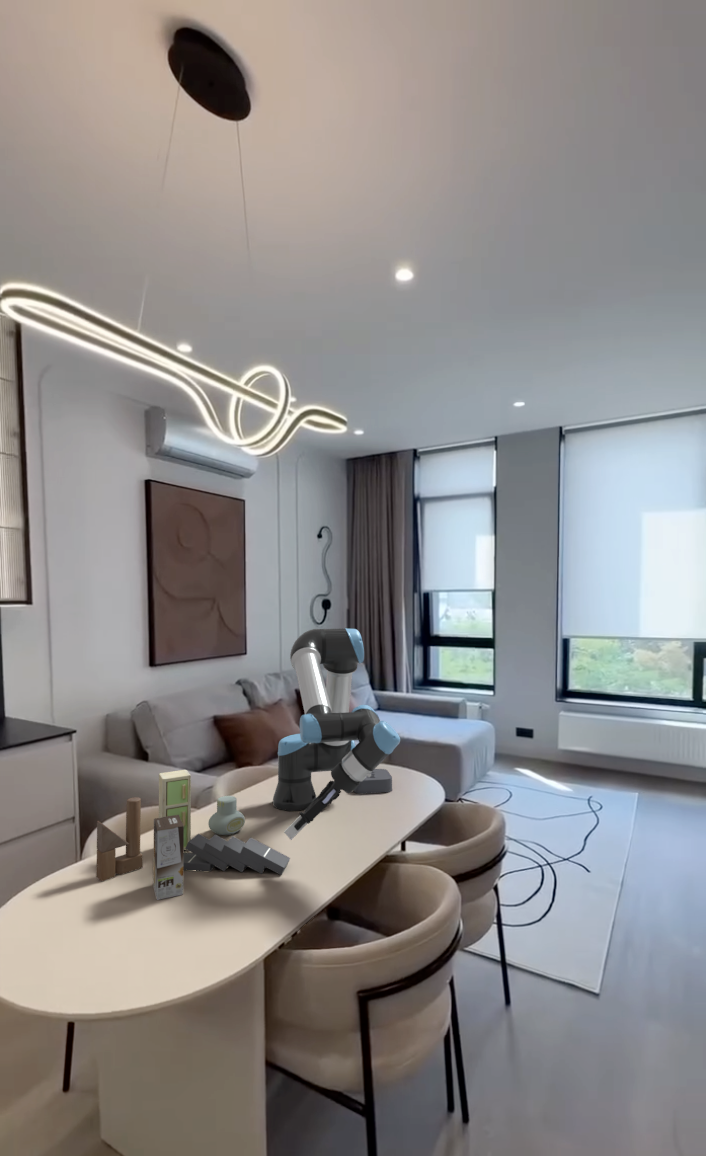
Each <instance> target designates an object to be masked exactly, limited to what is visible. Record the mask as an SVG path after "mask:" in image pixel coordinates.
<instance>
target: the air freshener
mask: <svg viewBox="0 0 706 1156" xmlns="http://www.w3.org/2000/svg"><path fill="white" fill-rule="evenodd" d="M237 807H238V806H237V797H235V796H234V795H224V796H220V797H218V798H217V799H216V812H215V813H213V814H212V815H211V816H210V818H209V820H208V823H207V824H208V827H209V830H210V831H211V832H213V833H214V834H216V835H218V836H230V834H232V835H234V834H236V833H238V832H239V831H240V830H241V829H242V828H243V827H244V826H245V822H246V819H245V816H244V814H243V813H242V812H241V811H239V810H238V809H237Z"/></svg>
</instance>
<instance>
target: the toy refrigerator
mask: <svg viewBox="0 0 706 1156" xmlns="http://www.w3.org/2000/svg"><path fill="white" fill-rule="evenodd" d="M191 783H192V779H191V773H190V772H189V771H188V770H187V769H179V770H174V771H173V770H172V771H166V772H160V773H159V774H158V818H162V817H166V816H172V815H179V816H180V819H181V821H182V823H183V825H184V850H186V851H188V850H187V849H185V848H186V846H187V844H188V842H189V841H190V840H191V839H192V838H191V836H192V834H191V830H192V826H191V825H192V819H191V812H192V811H191V810H192V809H191V808H192V806H191V805H192V804H191V803H192V802H191V801H192V800H191V798H192V797H191V796H192V793H191V792H192V789H191V787H192V784H191Z"/></svg>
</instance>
